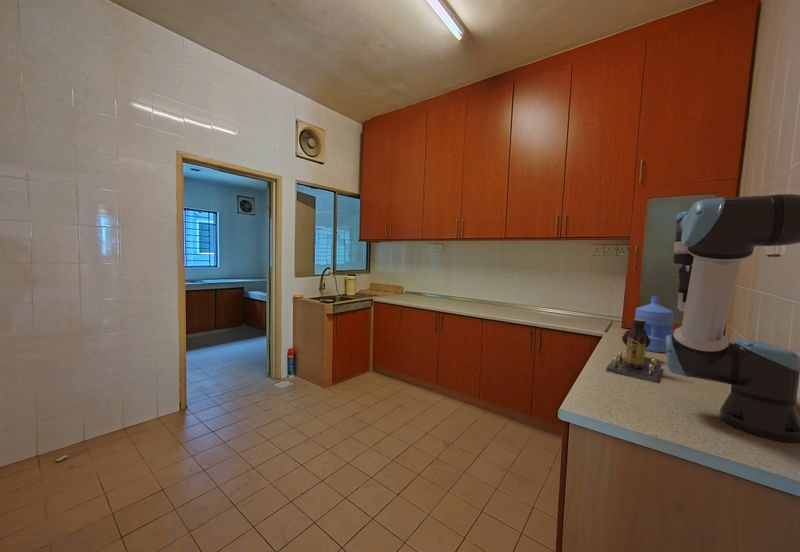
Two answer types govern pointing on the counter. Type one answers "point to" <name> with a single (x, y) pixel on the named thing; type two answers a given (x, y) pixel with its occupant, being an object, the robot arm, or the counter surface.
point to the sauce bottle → (636, 345)
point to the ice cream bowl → (628, 335)
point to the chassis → (635, 369)
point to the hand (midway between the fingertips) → (683, 310)
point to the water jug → (656, 324)
